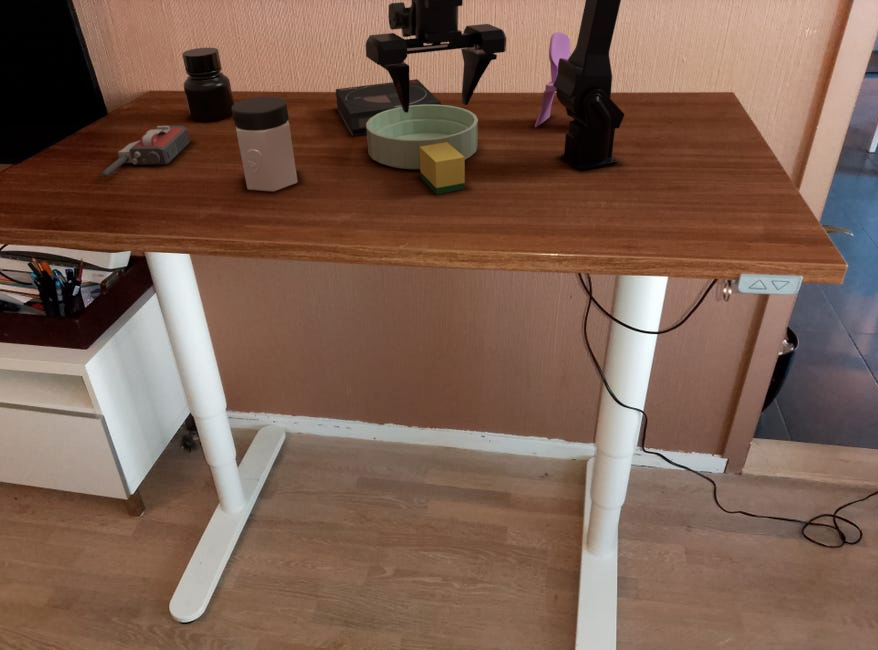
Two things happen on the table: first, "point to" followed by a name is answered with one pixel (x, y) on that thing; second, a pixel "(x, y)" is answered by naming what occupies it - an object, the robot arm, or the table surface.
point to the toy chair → (553, 72)
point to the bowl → (419, 133)
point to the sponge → (442, 168)
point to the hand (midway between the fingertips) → (435, 108)
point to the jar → (265, 143)
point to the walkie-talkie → (153, 148)
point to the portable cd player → (376, 102)
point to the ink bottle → (206, 85)
